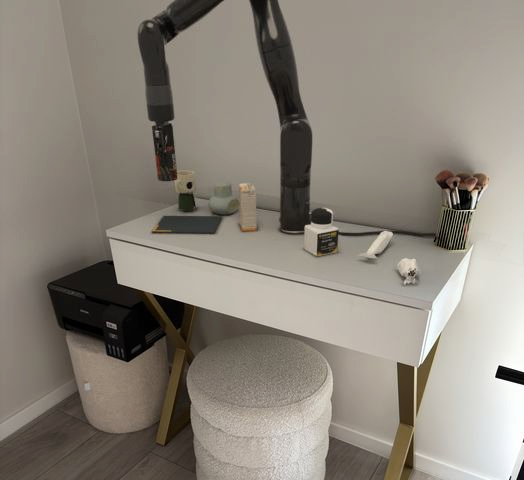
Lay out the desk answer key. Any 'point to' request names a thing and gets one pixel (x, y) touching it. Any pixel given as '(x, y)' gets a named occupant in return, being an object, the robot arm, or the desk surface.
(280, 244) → the desk surface
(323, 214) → the medicine bottle
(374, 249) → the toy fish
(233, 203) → the grey green rounded piece
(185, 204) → the character mug
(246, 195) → the supplement box
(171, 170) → the deodorant
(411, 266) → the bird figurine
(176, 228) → the mat
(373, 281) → the desk surface
